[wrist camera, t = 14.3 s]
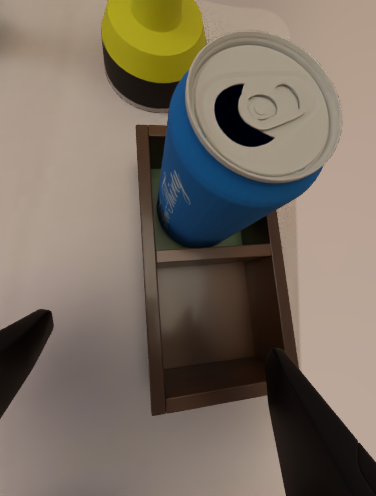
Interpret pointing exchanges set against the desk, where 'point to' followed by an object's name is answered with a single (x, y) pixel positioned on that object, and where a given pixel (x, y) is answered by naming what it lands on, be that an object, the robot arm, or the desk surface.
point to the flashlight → (150, 48)
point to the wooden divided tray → (208, 303)
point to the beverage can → (244, 136)
